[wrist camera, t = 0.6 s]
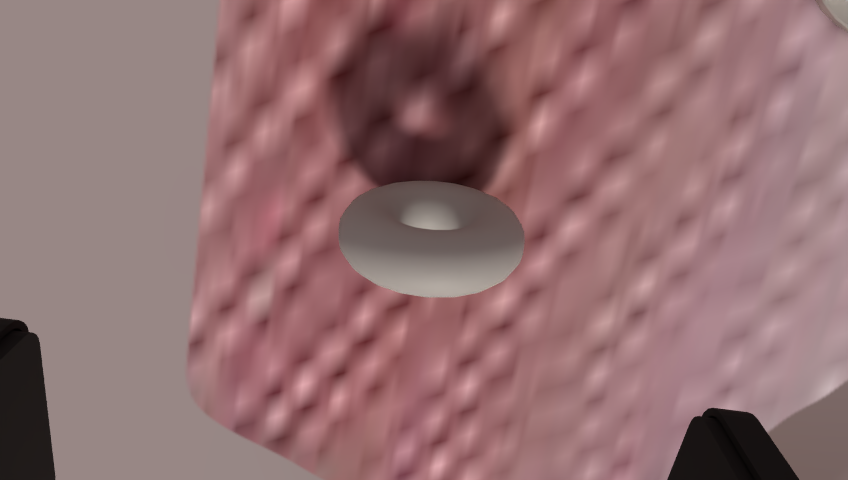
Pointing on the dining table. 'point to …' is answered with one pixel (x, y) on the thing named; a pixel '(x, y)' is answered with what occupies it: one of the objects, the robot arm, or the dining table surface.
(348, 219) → the donut
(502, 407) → the dining table surface
